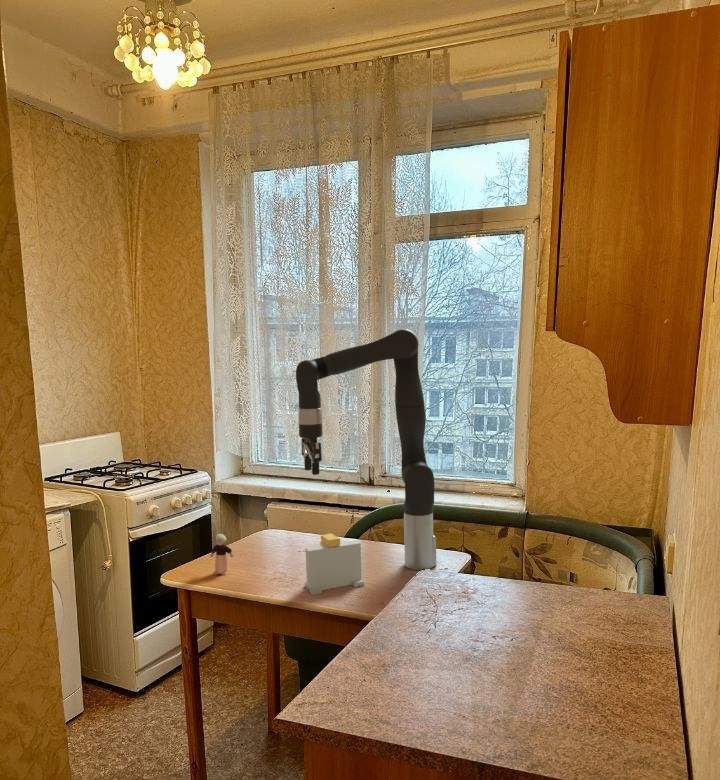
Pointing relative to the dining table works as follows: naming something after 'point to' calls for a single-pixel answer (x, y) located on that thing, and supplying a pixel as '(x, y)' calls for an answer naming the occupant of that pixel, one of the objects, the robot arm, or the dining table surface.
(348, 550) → the wall board
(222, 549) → the grandmother figurine
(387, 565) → the dining table surface
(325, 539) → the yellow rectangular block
